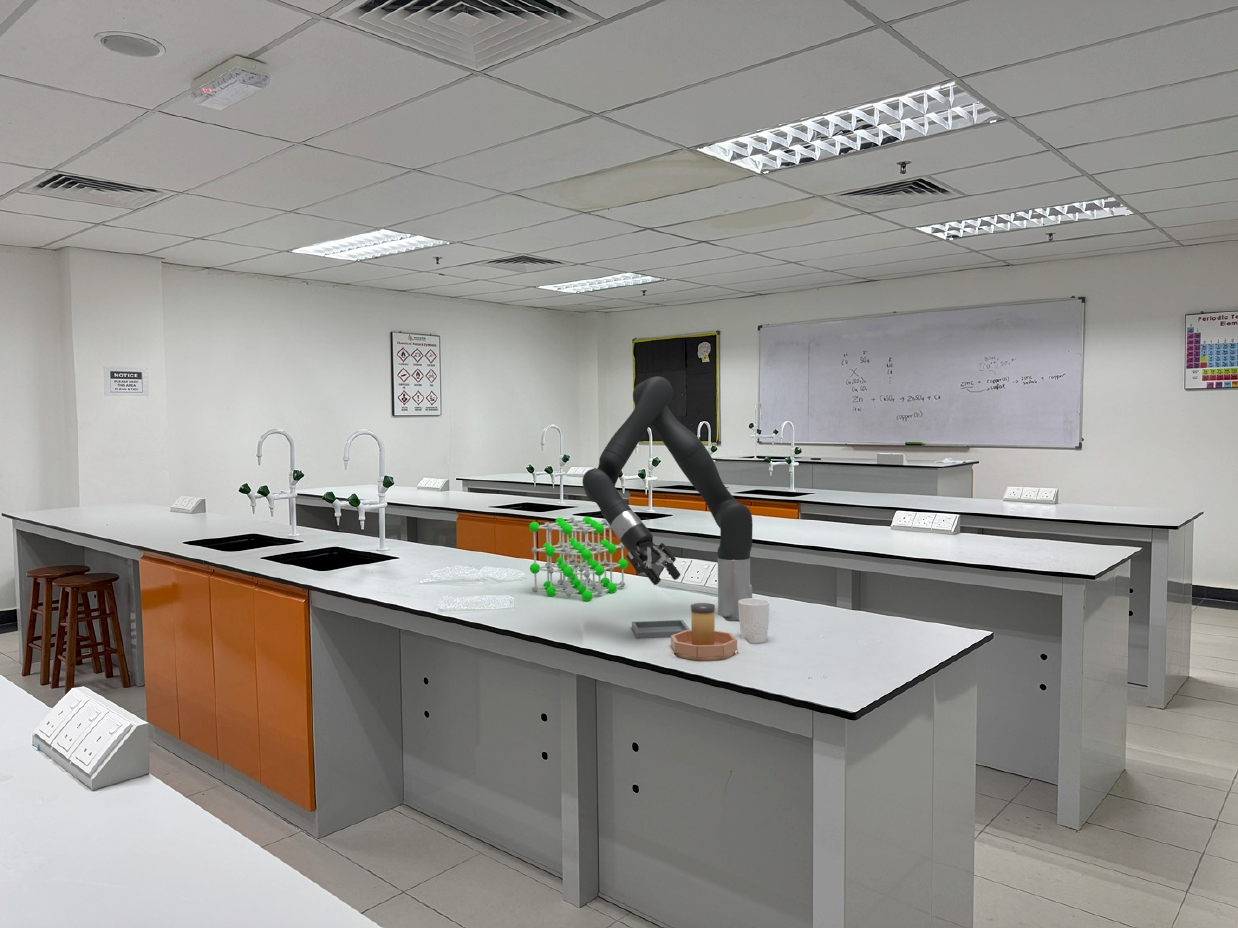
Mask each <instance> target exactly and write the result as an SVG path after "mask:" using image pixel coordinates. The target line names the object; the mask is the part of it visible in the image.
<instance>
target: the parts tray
mask: <svg viewBox="0 0 1238 928" xmlns="http://www.w3.org/2000/svg"><path fill="white" fill-rule="evenodd" d="M631 629H632V632H634V636H635V637H636V639H637V640H640V639H641V640H642V639H643V640H644V639H645V640H646V639H663V638H664V639H665V638H666V639H667V638H670V639H671V635H674V634H677V633H680V632H682V631H686V630H691V629H690V627H689V626H688V625H687V623H686V622H685V621H684V620H683V619H675V620H673V619H671V620H670V619H669V620H646V621H645V620H644V621H640V620H639V621H631Z"/></svg>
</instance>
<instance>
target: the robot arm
mask: <svg viewBox="0 0 1238 928" xmlns="http://www.w3.org/2000/svg"><path fill="white" fill-rule="evenodd" d="M673 394H674V390H673V386H672V384H671V382H670V381H669V380H668V379H667V378H665V377H664V376H657V375H656V376H652V377H649V378H647V379H646V380H644V381H642V382H640V383H638V384H637V385H636V386H635V387H634V389H633V391H632V400H633V403H634V406H635V408H633V411H632V412H631V414H630V415H629V416H628V417H627V419H625V421H624V423H622V424H621V425H620V427H619V428H618V429H617V430H616V431H615V433H614V434H613V435H612V437H611V438H610V440H609V441H608V443H607V445H606V446H605V448H604V449H603V451H602V453H601V454H600V457H599V459H598V461H599V462H598V465H597V466H598V467H597V468H591V469H589V470H587V471H586V472H585V473H584V474H583V476H582V487H583V490H584V493H585V495H586V497H587V498H588V500H589V501H591V502H592V503H596V505H597V506H598V508H599V509H600V510H599V511H600V512H601V514H602V516H603V518H604V519H606V520H607V522H608V523H609V525H610V526H611V527H612V529H611V530H613V533H614V534H615V536H616V537H617V539H618V540H619V541H620V543H621V542H622V544H623V545H624V546H625V547H624V549H626V551H627V554H626V558H627V560H628V561H629V563H630V565H631V566H632V567H633V568H634V570H635V572H636V573H637V574H643V575H645V576H646V577H647V578H648V579H649V581H650V582H651V583H652V584H653V585H654V586H657V585H658V584H659V583H661V577H660V576H659V575H658V574H657V572H656V571H655V569H654V568H652V565H653V564H654V565H655V564H656V565H657V566H661V567H663V568H665V569H666V571H667V572H668V574H669V575H670V577H671V578H672V579H673V580H674V581H676V580H678V579H679V578H680V577H681V573H680V571H679V570H678V569H677V567H676V566H675V564H674V562H675V561H676V560H677V558H676V557H675V556H674V554H673V553H672V552H671V551H670V550H669V548H668V547H667V546H666V544H664V542H661V543H660V544H659V545H656V544H655V543H654V542H653V541H654V540H653V539H654V535H653V534H652V532H651V531H650V529H648V528H647V526H646V524H645V523H644V522H643V520H641V518H640V517H639V516H638V515H637V514H636V513H635V512H634V510H633V509H632V508H631V507H630V505H629V504H628V503H627V502H626V500H625V499H624V498H623V497H622V496H621V494H620V493H619V491H618V489H617V488H616V484H617V483H618V480H619V477H620V474H621V472H622V470H623V468H624V467H625V465H626V464H627V462H628V461H629V459H630V458H631V456H632V454H633V452H634V450H635V449H636V447H637V446H638V444H639V443H640V441H641V440H642V438H643V437H644V435H645V433H646V432H647V430H648V429H649V427H650V426H651V427H652V428H653V429H654V431H655V432H656V434H657V435H658V437H659V438H660V440H661V441H662V443H663V444H664V446H665V448H667V449H668V452H669V453H670V455H671V456H672V458H673V459H674V461H675V462H676V463H675V464H677V466H678V467H679V468H680V470H681V472H682V473H683V474H684V476H685V477H686V479H688V481H689V482H690V483H691V485H692V486H693V487H694V488H695V490H696V491H697V492H698V494H699V495H700V497H702V499H703V501H704V502H705V504H706V506H707V508H708V509H709V512H710V514H711V516H712V518H713V519H714V521H715V523H716V525H717V527H718V528H719V529H720V534H719V535H720V541H719V546H718V548H717V614H718V616H720V617H721V618H722V617H723V619H724V620H727V621H739V607H738V601H739V600H741V599H748V598H753V585H752V584H751V550H752V547H753V525H754V524H753V516H752V513H751V510H750V508H748V506H747V505H745V504H743V503H740V502H739V501H737V499H735V497H734V495H732V494H731V492H730V491H729V490H728V488H727V487H726V485H725V484H724V482H723V481H722V479H721V477H720V474H719V471H718V469H717V466H716V463H715V461H714V459H713V457H712V455H711V454H710V452H709V450H708V449H707V448H706V446H705V445H704V443H703V442H702V440H701V439H700V438H699V437H698V436H697V435H696V434H695V433H694V432H693V431H691V430H690V429H689V428H687V427H686V426H685V425H683V424H682V423H681V422H680V421H679V420H677V418H676V417H675V416H674V414H673V413H672V411H671V410H670V408H669V407H668V405H669V404H670V403H671V401H672V398H673Z"/></svg>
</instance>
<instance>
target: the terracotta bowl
mask: <svg viewBox="0 0 1238 928" xmlns="http://www.w3.org/2000/svg"><path fill="white" fill-rule="evenodd" d="M670 647H671V648H672V651H673V652H672V654H673V655H674V656H676V657H679V658H680V659H685V660H689V659H691V661H701V662H711V661H721V660H726V659H729V658H731V657H733V656H734V655H735V654H736V651H737V650H738V639H737V638H736V637H735V635H734V634H732V633H731V632H726V631H721V630H720V631H719V630H715V645H699V646H697V645H692V629H690V630H686V631H682V632H680V633H677V634H674V635H671V638H670Z"/></svg>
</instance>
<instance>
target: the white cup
mask: <svg viewBox="0 0 1238 928" xmlns="http://www.w3.org/2000/svg"><path fill="white" fill-rule="evenodd" d="M738 607H739V620H738V621H739V631H740V638H743V639H744V640H745V641H746V642H747V643H748V644H761V643H762V644H763V643H765V642H767V641H768V630H769V623H770V622H769V621H770V619H769V617H770V616H769V615H770V601H769V600H768V599H764V598H755V597H754V598H753V597H752V598H748V599H741V600H739V601H738Z"/></svg>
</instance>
